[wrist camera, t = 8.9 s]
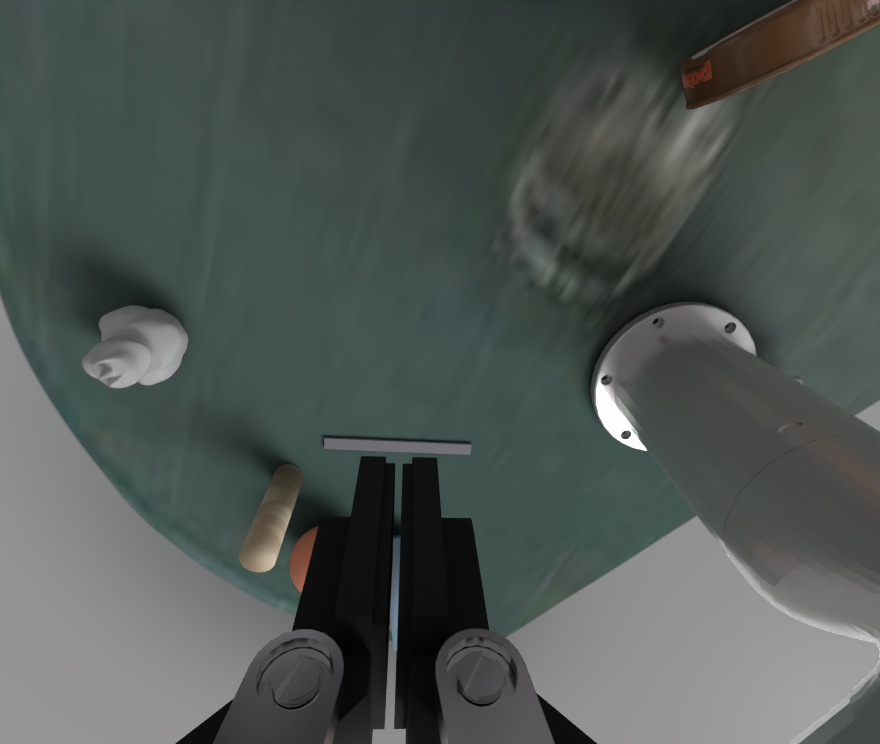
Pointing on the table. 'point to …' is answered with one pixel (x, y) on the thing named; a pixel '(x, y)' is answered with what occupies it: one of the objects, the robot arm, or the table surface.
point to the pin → (395, 589)
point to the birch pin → (271, 520)
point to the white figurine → (136, 347)
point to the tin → (773, 46)
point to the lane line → (397, 445)
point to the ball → (302, 558)
